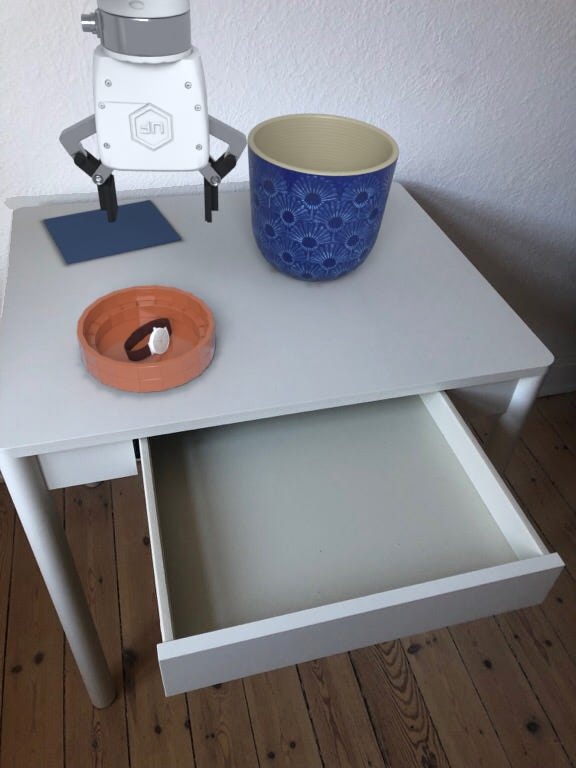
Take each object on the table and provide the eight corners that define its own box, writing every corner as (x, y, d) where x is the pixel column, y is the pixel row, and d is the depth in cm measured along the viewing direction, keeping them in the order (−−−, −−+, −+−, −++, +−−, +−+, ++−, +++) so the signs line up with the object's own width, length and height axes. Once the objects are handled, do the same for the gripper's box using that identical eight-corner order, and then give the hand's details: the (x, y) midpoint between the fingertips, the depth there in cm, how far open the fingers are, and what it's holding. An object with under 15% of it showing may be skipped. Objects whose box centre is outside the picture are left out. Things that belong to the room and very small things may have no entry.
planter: (290, 216, 109) (298, 102, 96) (399, 256, 102) (423, 137, 89) (218, 268, 96) (216, 143, 83) (336, 317, 89) (355, 189, 76)
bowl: (106, 412, 73) (100, 383, 70) (67, 331, 83) (61, 303, 80) (235, 371, 79) (236, 343, 76) (185, 301, 89) (183, 274, 86)
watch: (147, 371, 77) (144, 348, 75) (115, 358, 79) (111, 335, 76) (181, 337, 82) (180, 314, 80) (151, 325, 84) (149, 303, 81)
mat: (67, 264, 94) (66, 262, 94) (43, 221, 103) (43, 219, 103) (180, 240, 101) (180, 237, 101) (150, 202, 110) (149, 199, 110)
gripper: (32, 41, 50) (69, 234, 62) (251, 48, 52) (247, 234, 64) (47, 16, 55) (79, 198, 67) (245, 24, 58) (243, 199, 69)
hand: (161, 216), depth 65 cm, fingers open, 9 cm apart
